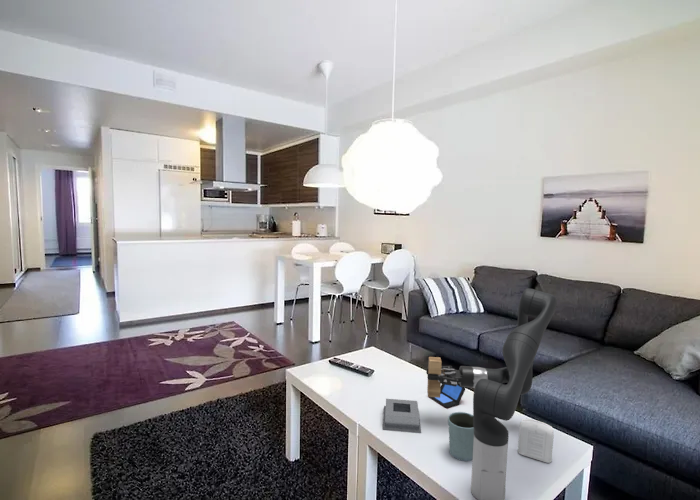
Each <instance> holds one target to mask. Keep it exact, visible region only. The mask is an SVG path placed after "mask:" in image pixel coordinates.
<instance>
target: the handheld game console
mask: <svg viewBox="0 0 700 500" xmlns="http://www.w3.org/2000/svg"><path fill="white" fill-rule="evenodd" d="M465 391H466V387H461V386H460V384H459V383H457V386H450V385H445V384H441V389H440V398H438V397H429V399H431V400H433V401H434V402H435V403H437V404H438V405H440V406H442V407H443V408H445V409H451V408H454V407H458V406H460V402H461V400H462V398H463V396H464V394H465Z"/></svg>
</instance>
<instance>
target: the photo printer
mask: <svg viewBox="0 0 700 500" xmlns="http://www.w3.org/2000/svg"><path fill="white" fill-rule="evenodd" d="M518 432H519V433H518V441H517V443H518V444H517V453H518V454H519V455H522V456H524V457H528V458H530V459H534V460H537V461H541V462H543V463H548V464H550V463H551V462H552V460H553V459H552V458H553V448H554V447H553V446H554V437H555V434H554V430H553V426H551V425H550V424H547V423H546V422H543V421H540V420H537V419H532V418H522V419H521V422H520V423H519V431H518Z"/></svg>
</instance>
